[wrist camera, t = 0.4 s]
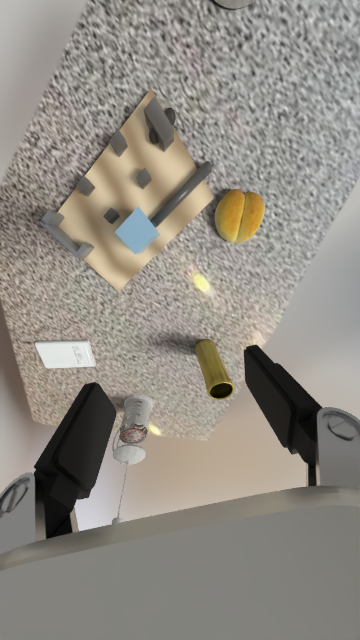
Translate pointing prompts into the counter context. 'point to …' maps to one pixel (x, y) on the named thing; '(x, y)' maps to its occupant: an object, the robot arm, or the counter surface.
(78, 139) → the counter surface
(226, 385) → the vase
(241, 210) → the bread roll
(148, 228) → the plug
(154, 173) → the board
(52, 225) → the end holder
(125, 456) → the french press
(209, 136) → the counter surface
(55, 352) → the external hard drive
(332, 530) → the robot arm
